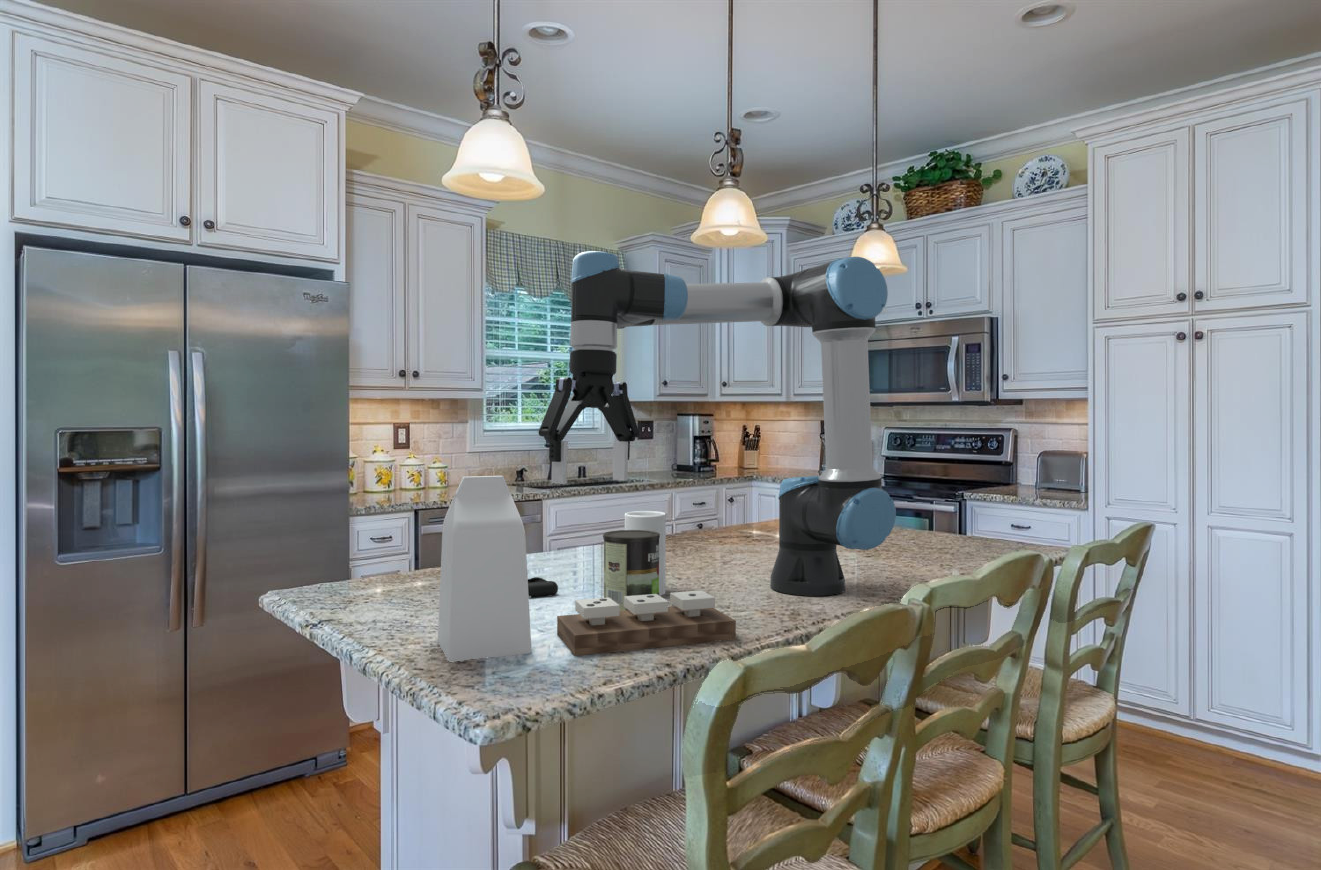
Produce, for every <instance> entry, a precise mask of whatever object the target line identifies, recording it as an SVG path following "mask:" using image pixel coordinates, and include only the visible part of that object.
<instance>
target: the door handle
mask: <svg viewBox="0 0 1321 870" xmlns="http://www.w3.org/2000/svg"><path fill="white" fill-rule="evenodd" d="M558 592H559V586H558V583H557V582H556V581H554V580H546V579H544V578H542V577H531V578H528V594H529V599H530V600H531V599H532V598H544V597H552V596H555V595H556V594H558Z"/></svg>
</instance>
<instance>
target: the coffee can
mask: <svg viewBox="0 0 1321 870" xmlns="http://www.w3.org/2000/svg"><path fill="white" fill-rule="evenodd" d="M602 538H603V598H611V599H612V600H613V601H614V602H616V603H617V604H618V605H619V611H623V610H628V609H627V608H625V607H624V596H635V595H648V594H657V595H659V538H660V534H659V533H657V532H653V531H645V530H625V529H623V530H622V529H621V530H612V531H607V532H603V533H602Z"/></svg>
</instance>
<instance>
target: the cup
mask: <svg viewBox="0 0 1321 870" xmlns="http://www.w3.org/2000/svg"><path fill="white" fill-rule="evenodd" d="M666 517H667V515H666V513H665V512H664V511H658V510H657V511H656V510H654V511H653V510H635V511H628V512H625V513H624V530H645V531H653V532H657V533H659V534H660V538H659V596H661V597H662V596H664V595H665V594H666V566H667V565H666V554H667V553H666V550H667V549H666V547H667V546H666V544H667V542H666V539H667V538H666V534H667V533H666V530H667V529H666V524H667V523H666V522H667V521H666Z"/></svg>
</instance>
